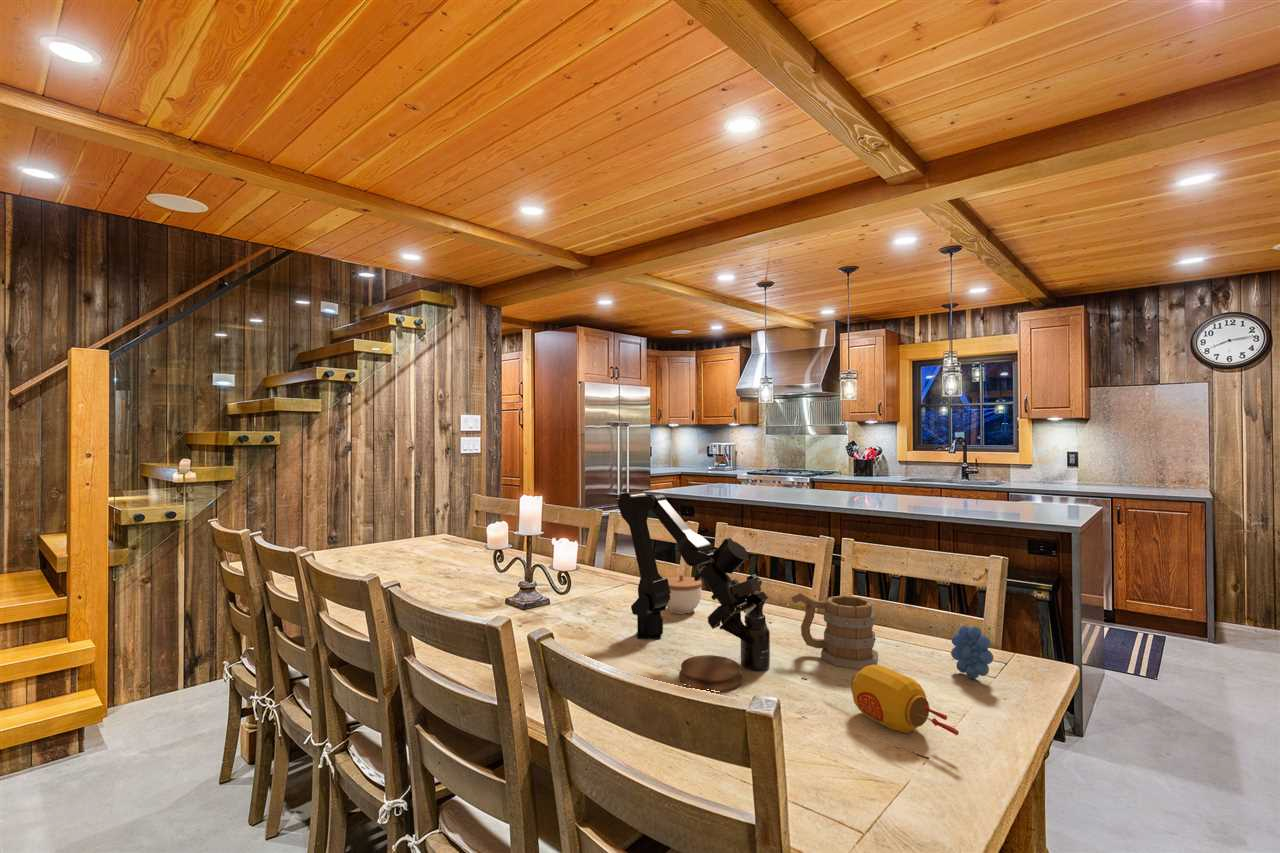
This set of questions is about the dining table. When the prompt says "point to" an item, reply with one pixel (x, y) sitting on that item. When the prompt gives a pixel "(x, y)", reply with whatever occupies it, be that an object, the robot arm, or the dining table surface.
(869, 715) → the lantern
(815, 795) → the dining table surface
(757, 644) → the supplement bottle
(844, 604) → the tankard
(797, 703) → the dining table surface
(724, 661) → the pedestal stand
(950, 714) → the dining table surface
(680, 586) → the lidded bowl
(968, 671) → the grapes
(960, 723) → the dining table surface
